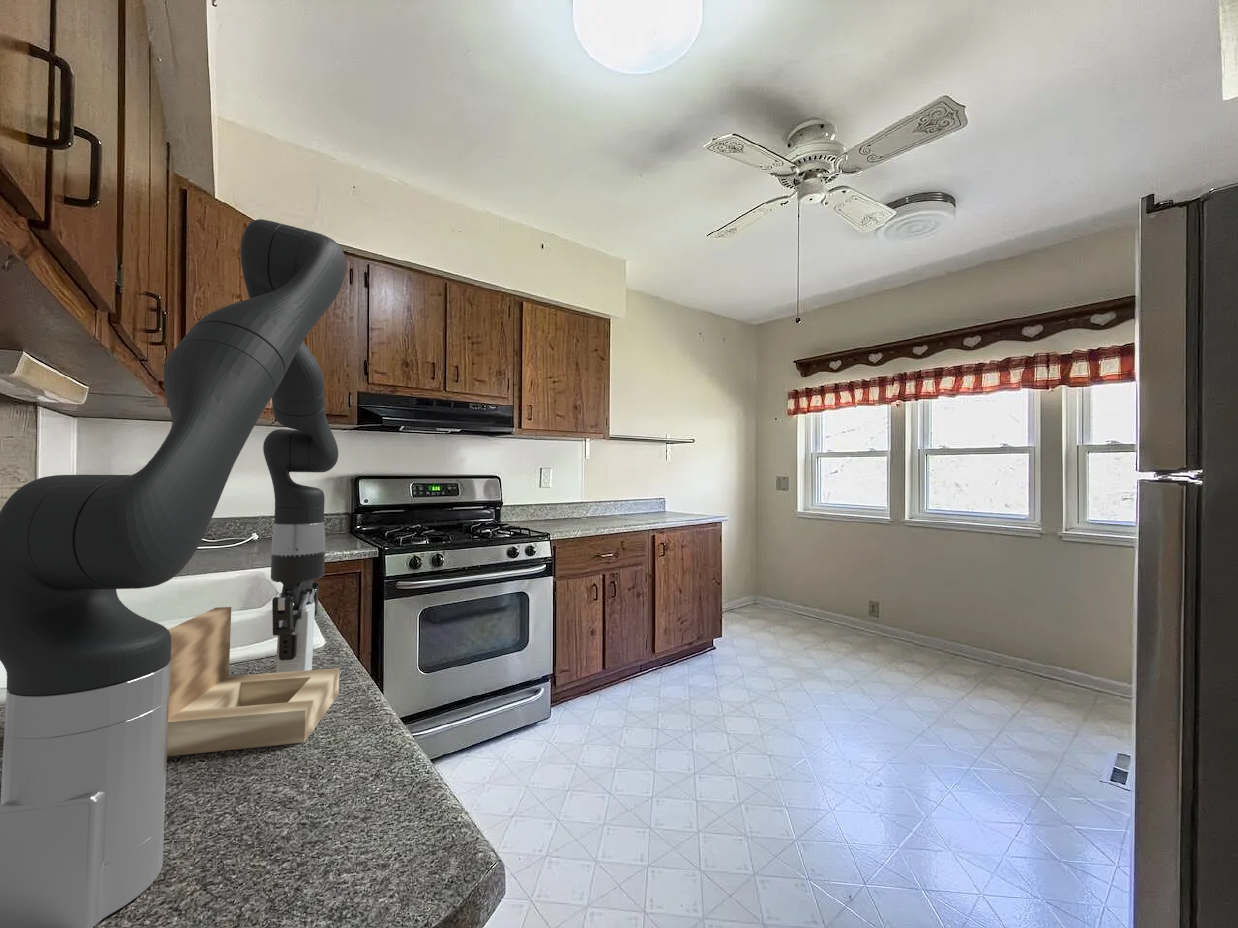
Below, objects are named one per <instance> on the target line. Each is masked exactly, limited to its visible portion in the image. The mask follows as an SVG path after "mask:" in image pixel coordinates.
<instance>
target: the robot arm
mask: <svg viewBox="0 0 1238 928" xmlns="http://www.w3.org/2000/svg"><path fill="white" fill-rule="evenodd" d="M240 264H241V270H242V275H243V279H244V283H245V284H244V285H245V288H246V291H247V294H248V299H245V300H241V301H239V302H238V301H237V302H235V303H232V304H229V305H226V306H224V307H221V308H219V309H216V310H214V311H212V312H210V313H208V314H207V315H204V316H203V317H201V318H200V319H199V320H198V321H197V322H196V323H195V324H194V325H193V326H192V328H190V330H188V332H186V335H185V336H184V337H183V338H182V339H181V340H180V342H179V343H178V344H177V345H176V346H175V348H174V349H173V350H172V352H171V353H170V354H169V356H168V357H167V359H166V362H165V363H164V364H165V365H164V367H163V372H162V377H163V378H162V380H163V389H164V394H165V399H166V402H167V405H168V410H169V412H170V417H171V428H170V430H169V433H168V434H167V436H166V438H165V439H164V441H163V443H162V444H161V445H160V447H159V449H158V450H156V453H155V454H154V455H153V456H152V458H151V459H150V460H149V461H148V462H147V463H146V465H144V467H142V469H140V470H138V471H137V472H135V473H133V474H58V475H48V476H43V477H40V478H37V479H34V480H32V481H29V482H27V483H25V484H23V485H22V486H21V487H19V488H18V489H17V490H16V491H15V492H13V494H11V495H10V496H9V498H8V499H7V501H6V502H5V503H4V505H3V506H2V508H1V510H0V662H1V664H2V665H3V667H4V669H5V671H6V695H5V697H6V698H5V712H4V713H5V714H4V716H5V717H4V732H3V745H2V746H3V748H2V749H3V750H2V767H1V785H0V786H1V788H0V928H93V927H94V926H95V927H96V926H97V924H99V923H100V922H101V921H102V920H103V919H105V918H106V917H108V916H109V915H111V914H113V913H115V912H117V911H118V910H120V909H121V908H124V907H125V906H126V905H128V904H129V903H131V902H132V901H133V900H134V899H136V898H138V897H139V896H140V895H141V894H142V893H143V892H144V891H146V890H147V889H148V888H149V887H151V885H152V884H153V883H154V882H155V881H156V880H157V878H158V877H159V874H160V873H161V871H162V869H163V864H164V863H163V862H164V843H165V842H164V839H165V838H164V837H165V836H164V835H165V811H166V809H165V808H166V784H167V783H166V782H167V763H168V762H167V760H168V756H167V738H168V713H169V693H170V668H171V661H170V660H171V635H170V632H169V630H168V628H167V627H166V626H164V625H162V624H161V623H158V622H156V621H153V620H151V619H148V618H145V617H143V616H142V615H139V614H137V613H136V612H134V611H132V610H131V609H129V608H128V607H127V606H126V605H125V604H124V603H123V602H122V601H121V600H120V598H119V596H118V592H117V590H130V589H133V590H134V589H135V590H137V589H147V588H153V587H156V586H159V585H162V584H165V583H167V582H168V581H170V580H172V579H173V578H174V577H175V576H177V575H178V574H179V573H180V572H181V571H182V570H183V569H184V568H185V567H186V565H187V564H188V563H189V562H190V561H191V559H192V558H193V557H194V555H195V553H196V552H197V550H198V548H199V546H200V545H201V542H202V541H203V539H204V538H205V537H204V536H205V534H206V532H207V531H208V527H209V525H210V523H211V521H212V518H213V516H214V514H215V511H216V509H217V507H218V503H219V501H220V499H221V496H222V494H223V491H224V489H225V488H226V485H227V482H228V479H229V478H230V476H231V475H230V474H231V472H232V470H233V468H234V465H235V463H236V461H237V460H238V457H239V455H240V454H241V452H242V449H243V448H244V446H245V445H246V442H247V441H248V438H249V437H250V435H251V433H252V431H253V429H254V427H255V426H256V423H257V422H258V420H259V418H260V416H261V415H262V413H263V412H264V410H265V409H266V407H267V405H268V404H269V403H270V401H271V403H272V404H271V405H272V412H273V416H274V419H275V420H276V422H277V423H279V424H280V425H282V426H283V427H286V429H284V428H283V429H282V428H281V429H274V430H272V431H271V432H270V433H268V434H267V436H266V437H265V439H264V442H263V446H262V447H263V448H262V451H263V452H262V453H263V455H264V460H265V462H266V466H267V469H268V472H269V474H270V478H271V482H272V487H273V493H274V520H273V521H274V522H273V523H274V524H273V531H272V535H271V537H272V538H271V553H270V555H271V556H270V557H271V558H270V562H271V563H270V565H271V566H270V580H271V581H272V582H274V583H281V584H282V589H281V592H280V594H279V596H276V597H275V596H274V597H273V598H272V600H271V601H272V602H271V603H272V607H271V608H272V611H271V612H272V613H271V614H272V636H274V637H276V636H277V637H278V636H280V643H279V659H280V660H292V659H294V658H295V657H296V650H297V635H296V634H297V632H298V622H299V621H300V620H301V619H302V612H303V610H304V609H305V606H306V605H307V604H308V603H309V604H313V603H315V614H314V617H317V615H318V606H319V605H318V603H319V591H320V590H319V587H320V582H319V581H318V580H319V579H321V578H323V577H324V576H325V557H326V556H325V555H326V531H325V503H326V502H325V500H326V499H325V498H326V497H325V493H324V491H323V490H322V489H321V488H318V487H314V486H310V485H309V486H308V485H304V484H299V483H296V482H295V481H294V480H293V479H292V478H291V475H290V473H327V472H329V471H331V470H332V469H333V468H334V467H335V466H336V464H337V462H338V460H339V448H338V444H337V441H336V438H335V435H334V433H333V431H332V429H331V427H330V425H329V424H330V423H329V422H328V418H327V415H326V414H327V413H326V401H325V398H326V397H325V396H326V395H325V380H324V376H323V371H322V369H321V367H320V365H319V363H318V361H317V359H316V358H315V356H314V354H313V353H312V352H311V350H310V349H309V348H308V346H307V345H306V344H305V342H304V341H305V339H306V337H307V336H308V334H309V333H310V332H311V330H312V329H313V328H314V326H315V325H317V323H318V322H319V320H320V319H321V318H322V317H323V315H324V314H325V313H326V312H327V311H328V309H329V308H330V306H331V305H332V304H333V302H334V301H335V299H336V298H337V296H338V295H339V293H340V290H341V289H342V285H343V283H344V279H345V276H346V275H345V274H346V269H347V267H346V265H347V262H346V255H345V253H344V251H343V249H342V247H341V246H340V244H339V243H337V241H335V240H334V239H332V238H330V237H328V236H327V235H324V234H322V233H320V232H319V233H318V232H316V231H312V230H307V229H304V228H300V227H296V226H292V225H288V224H284V223H280V222H276V221H272V220H268V219H260V218H258V219H255V220H252V221H251V222H250V223H249V224H248V225H247V226H246V228H245V229H244V232H243V234H242V236H241V241H240ZM287 428H289V429H287ZM315 580H317V581H315ZM296 610H299V611H298V613H297V614H295V615H293V611H296ZM279 621H280V622H279ZM285 621H287V627H284V622H285ZM95 927H94V928H95Z"/></svg>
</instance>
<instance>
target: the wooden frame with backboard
mask: <svg viewBox="0 0 1238 928" xmlns="http://www.w3.org/2000/svg"><path fill="white" fill-rule="evenodd" d="M231 622H232V606H225V607H224V606H223V607H222V606H221V607H219V606H218V607H214V608H212V609H210V610H207V611H205V612H203V613H201V614H199V615H197V616H195V617H193V618H190V619H188V620H186V621H184V622H182V623H181V622H180V623H179V624H177V625H174V626H172V627H171V628H169V629H168V628H167V629H168V630H169V632H170V635H171V660H170V661H171V668H170V693H169V713H168V738H167V757H172V756H173V757H174V756H175V757H176V756H184V755H193V754H194V755H195V754H203V753H213V752H215V753H216V752H223V751H225V752H226V751H232V750H241V749H242V750H244V749H251V748H252V749H253V748H261V747H262V748H263V747H271V746H282V745H291V744H302V743H305V742H306V741H307V740H308V738H309V737H310V735H311V734H312V733H313V731H314V730H315V728H316V727H317V725H318V724H319V722H320V721H321V720H322V718H323V717H324V716H325V714H326V713H327V712H328V710H329V709H330V707H331V706H332V705H333V703H334V702H335V700H336V699H337V698H338V696H339V694H340V692H339V691H340V668H339V667H337V668H324V669H323V668H322V669H312V670H307V671H293V672H279V673H276V672H269V673H267V672H266V673H255V674H241V675H230V659H231V658H230V656H231V655H230V653H231V627H232V626H231V625H232V623H231Z"/></svg>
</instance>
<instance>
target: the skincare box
mask: <svg viewBox="0 0 1238 928" xmlns="http://www.w3.org/2000/svg"><path fill="white" fill-rule="evenodd" d="M298 611H299V610H296V611H293V615H295V614H297V613H298ZM314 614H315V603H313V604H309V603H308V604H307V605H306V606H305V609H304V610H303V612H302V619H301V620H300V621H299V622H298V632H297V634H296V635H297V650H296V657H295V658H294V659H292V660H280V659H279V643H280V636H278V635H277V645H276V662H275V673H279V672H293V671H307V670H313V654H314V653H313V651H314V634H315V633H314V632H315V630H314V628H315V616H314ZM279 622H280V621H279ZM284 627H287V621H285V622H284Z"/></svg>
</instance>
